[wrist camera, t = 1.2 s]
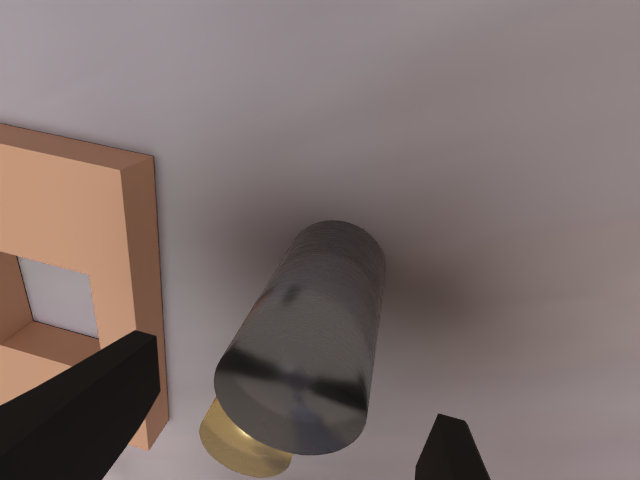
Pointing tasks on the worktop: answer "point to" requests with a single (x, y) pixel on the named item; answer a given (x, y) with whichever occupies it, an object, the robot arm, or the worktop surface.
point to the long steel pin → (308, 345)
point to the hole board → (77, 255)
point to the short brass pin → (239, 446)
